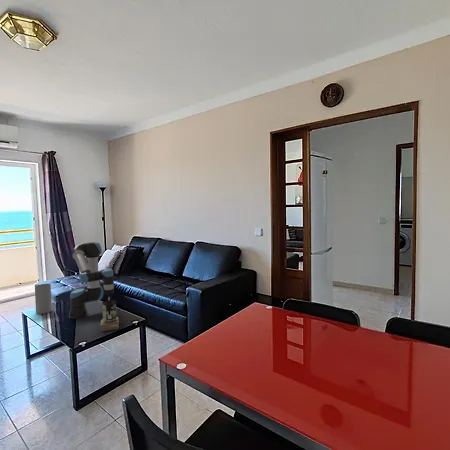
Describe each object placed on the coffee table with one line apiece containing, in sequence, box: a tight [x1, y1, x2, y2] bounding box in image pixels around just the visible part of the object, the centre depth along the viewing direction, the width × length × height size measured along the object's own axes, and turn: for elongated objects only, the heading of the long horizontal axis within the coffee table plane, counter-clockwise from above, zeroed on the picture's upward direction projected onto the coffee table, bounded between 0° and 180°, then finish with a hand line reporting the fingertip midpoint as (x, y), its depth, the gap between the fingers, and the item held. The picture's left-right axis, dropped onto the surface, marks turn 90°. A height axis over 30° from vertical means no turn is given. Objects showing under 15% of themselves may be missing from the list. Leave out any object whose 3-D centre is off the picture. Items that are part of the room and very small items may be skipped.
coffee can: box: [102, 299, 117, 321], centre depth 231 cm, size 10×10×14 cm
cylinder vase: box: [34, 283, 53, 315], centre depth 268 cm, size 12×12×25 cm
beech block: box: [100, 316, 120, 332], centre depth 232 cm, size 13×13×5 cm
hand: (109, 316), depth 231 cm, fingers closed on coffee can, 10 cm apart
